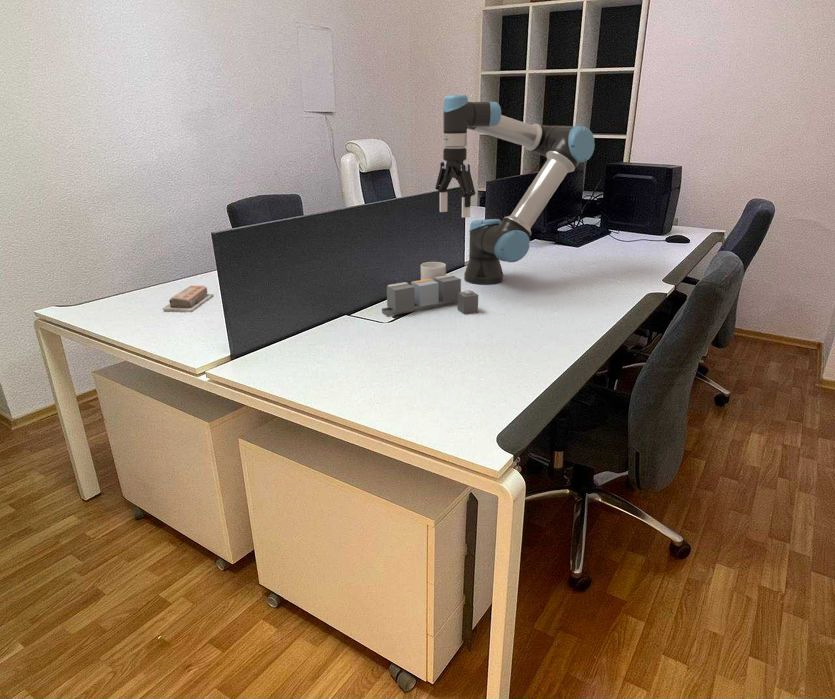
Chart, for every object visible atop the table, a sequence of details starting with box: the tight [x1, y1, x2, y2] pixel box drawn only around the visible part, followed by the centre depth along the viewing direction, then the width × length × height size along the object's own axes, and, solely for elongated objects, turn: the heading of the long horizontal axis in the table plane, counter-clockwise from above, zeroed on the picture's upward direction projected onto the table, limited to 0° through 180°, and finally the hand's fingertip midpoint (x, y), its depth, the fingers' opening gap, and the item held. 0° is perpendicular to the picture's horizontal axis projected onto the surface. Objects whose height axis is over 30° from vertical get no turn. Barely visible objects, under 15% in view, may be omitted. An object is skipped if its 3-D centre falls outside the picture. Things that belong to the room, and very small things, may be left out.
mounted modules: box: [386, 274, 462, 311], centre depth 187 cm, size 25×6×7 cm, turn 120°
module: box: [410, 279, 439, 307], centre depth 187 cm, size 7×6×7 cm
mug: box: [420, 261, 447, 281], centre depth 200 cm, size 12×9×11 cm
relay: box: [457, 289, 479, 315], centre depth 183 cm, size 5×5×7 cm
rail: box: [381, 300, 458, 317], centre depth 188 cm, size 30×4×2 cm, turn 120°
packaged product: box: [162, 285, 214, 313], centre depth 194 cm, size 18×5×10 cm
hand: (454, 214), depth 189 cm, fingers open, 13 cm apart
